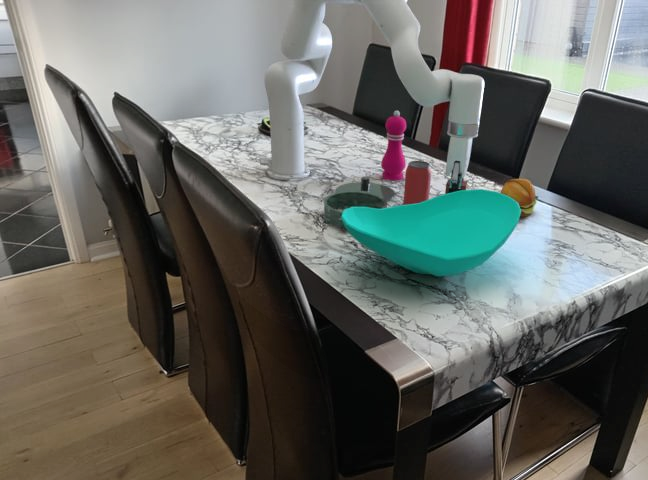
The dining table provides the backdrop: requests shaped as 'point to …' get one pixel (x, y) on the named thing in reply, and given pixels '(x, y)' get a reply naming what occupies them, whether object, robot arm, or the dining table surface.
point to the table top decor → (437, 230)
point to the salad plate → (265, 127)
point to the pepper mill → (394, 148)
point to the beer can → (417, 182)
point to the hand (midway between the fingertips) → (454, 198)
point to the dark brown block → (463, 185)
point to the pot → (349, 204)
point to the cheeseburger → (521, 194)
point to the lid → (368, 188)
